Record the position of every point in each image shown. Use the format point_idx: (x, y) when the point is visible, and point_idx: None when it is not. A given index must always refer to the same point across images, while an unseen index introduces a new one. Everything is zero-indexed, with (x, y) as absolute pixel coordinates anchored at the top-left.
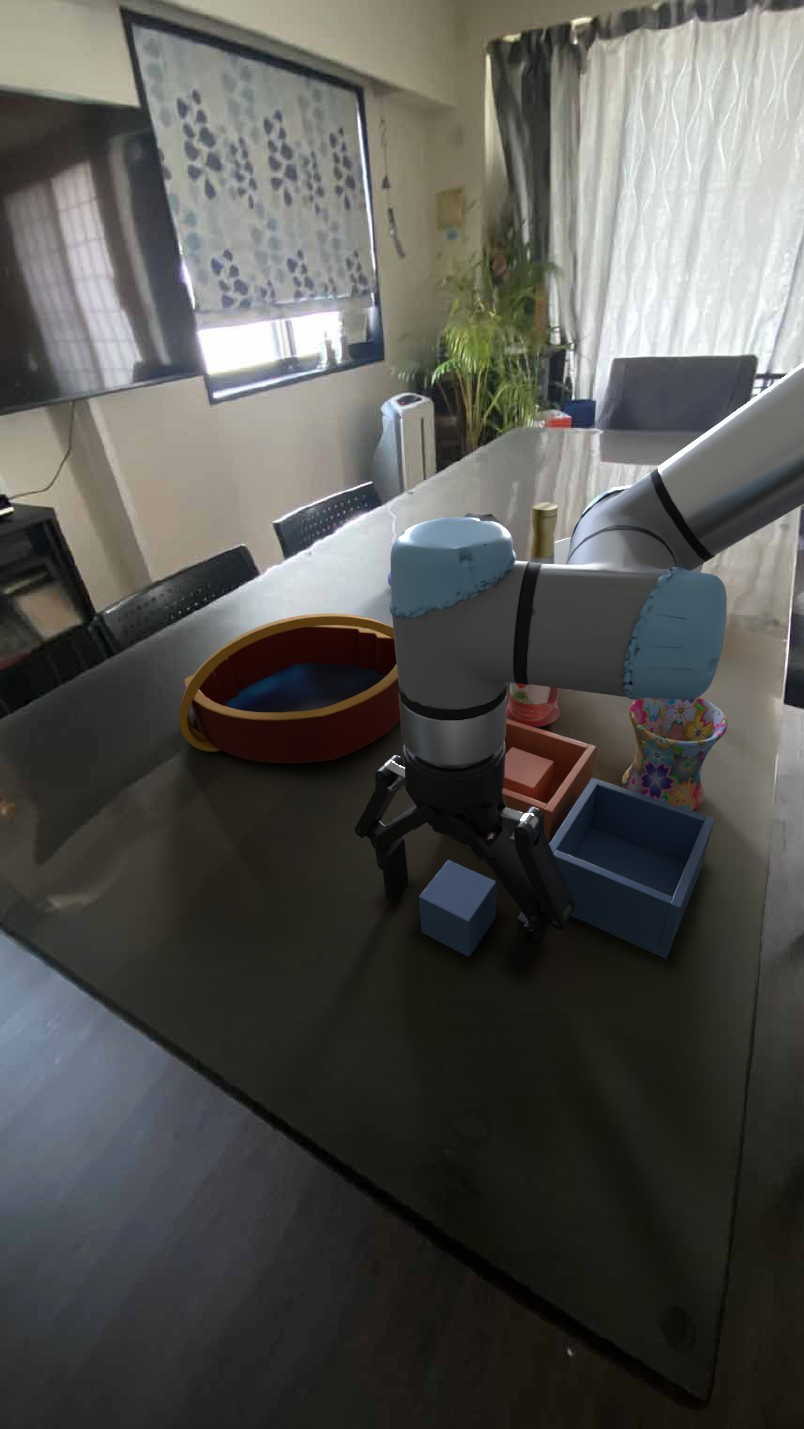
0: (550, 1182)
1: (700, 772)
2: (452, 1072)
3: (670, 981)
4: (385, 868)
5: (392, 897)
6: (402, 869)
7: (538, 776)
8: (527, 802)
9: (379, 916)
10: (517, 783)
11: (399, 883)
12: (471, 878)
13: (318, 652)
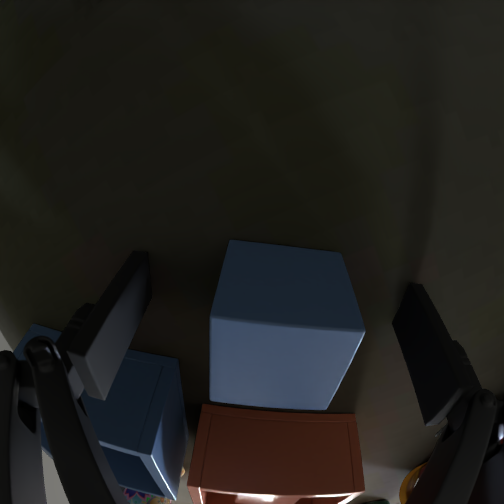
0: (6, 13)
1: None
2: (153, 22)
3: (17, 300)
4: (452, 353)
5: (415, 295)
6: (412, 354)
7: (241, 496)
8: (227, 491)
9: (426, 252)
10: None
11: (410, 324)
12: (260, 396)
13: None
